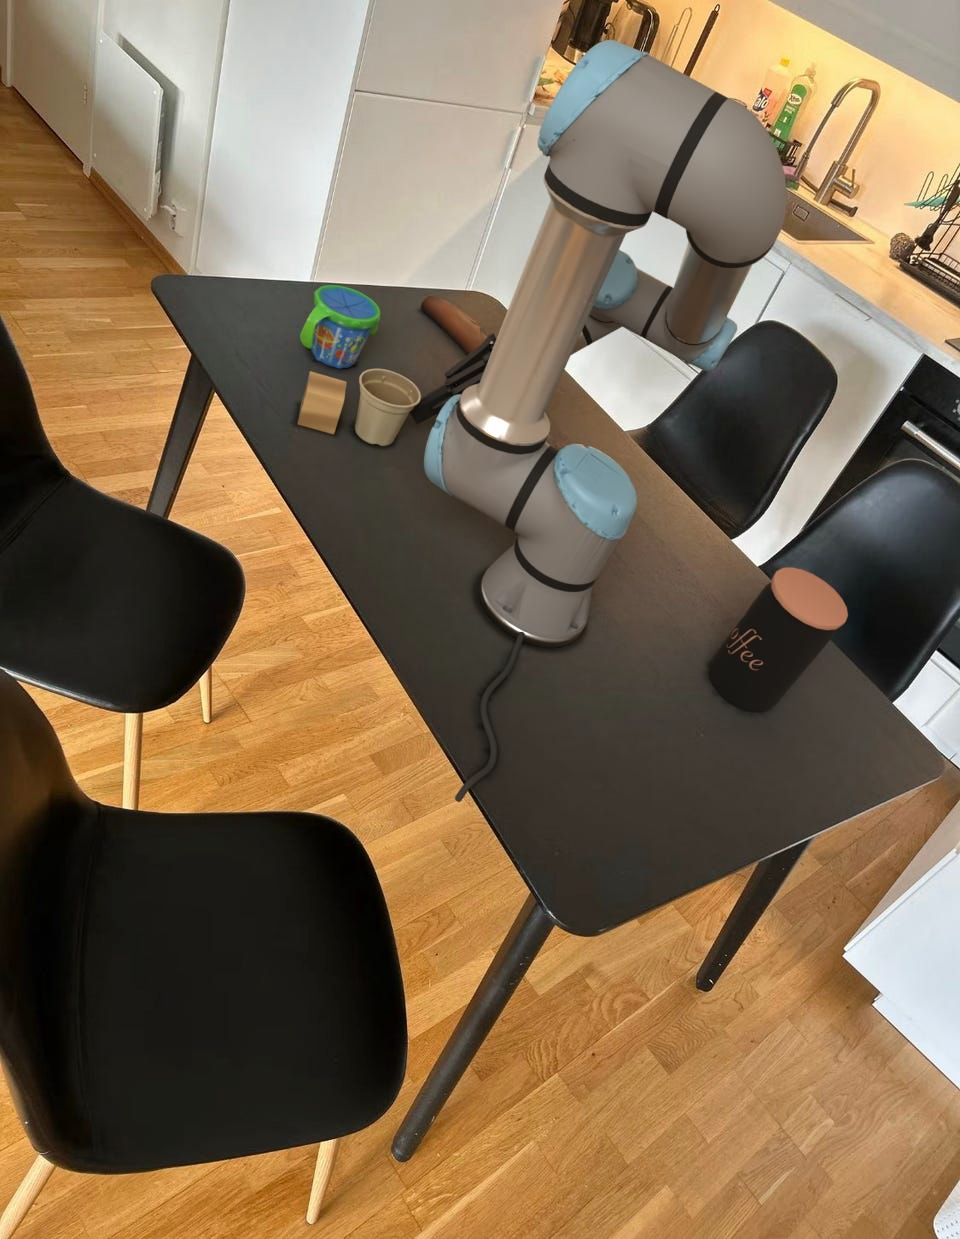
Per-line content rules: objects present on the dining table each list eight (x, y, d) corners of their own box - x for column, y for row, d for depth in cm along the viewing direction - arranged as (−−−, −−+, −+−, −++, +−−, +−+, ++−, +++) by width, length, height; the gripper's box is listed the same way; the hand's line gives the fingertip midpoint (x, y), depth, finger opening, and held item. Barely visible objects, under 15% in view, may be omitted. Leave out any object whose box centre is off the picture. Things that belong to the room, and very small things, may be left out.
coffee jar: (700, 649, 140) (767, 557, 128) (766, 669, 142) (837, 580, 130) (710, 704, 132) (782, 611, 120) (780, 724, 134) (857, 635, 122)
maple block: (334, 434, 145) (344, 401, 142) (297, 424, 144) (306, 390, 140) (336, 414, 149) (346, 381, 146) (300, 404, 148) (310, 370, 144)
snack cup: (349, 335, 168) (365, 281, 162) (387, 370, 164) (405, 316, 158) (275, 344, 158) (289, 286, 151) (313, 381, 154) (329, 324, 147)
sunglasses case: (508, 361, 181) (505, 334, 175) (477, 380, 179) (474, 353, 173) (452, 307, 188) (448, 280, 183) (422, 325, 187) (417, 298, 181)
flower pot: (410, 431, 153) (427, 385, 148) (396, 461, 146) (413, 414, 141) (353, 408, 152) (368, 360, 147) (337, 437, 145) (352, 389, 140)
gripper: (573, 380, 144) (433, 458, 147) (544, 332, 152) (413, 407, 155) (555, 343, 138) (411, 425, 142) (527, 295, 146) (391, 374, 150)
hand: (412, 416), depth 148 cm, fingers closed
